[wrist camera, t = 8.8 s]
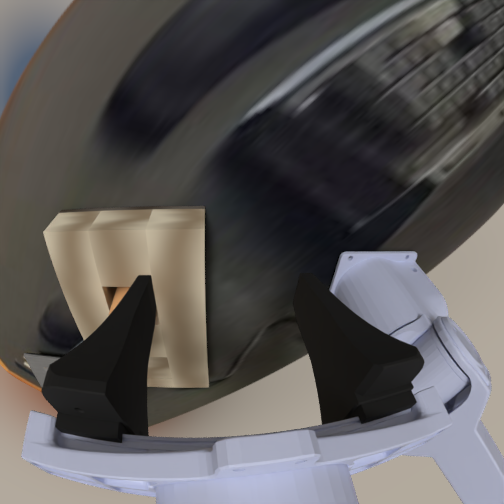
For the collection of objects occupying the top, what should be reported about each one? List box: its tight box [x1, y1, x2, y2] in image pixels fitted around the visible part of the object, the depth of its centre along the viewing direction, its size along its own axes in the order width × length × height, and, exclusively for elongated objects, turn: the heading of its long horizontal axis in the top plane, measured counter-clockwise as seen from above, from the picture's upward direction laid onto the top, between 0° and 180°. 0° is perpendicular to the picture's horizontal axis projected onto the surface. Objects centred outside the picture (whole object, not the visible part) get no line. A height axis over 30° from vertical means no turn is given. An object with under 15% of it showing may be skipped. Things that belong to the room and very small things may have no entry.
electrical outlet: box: [24, 353, 61, 387], centre depth 31 cm, size 13×10×2 cm
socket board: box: [43, 206, 209, 388], centre depth 24 cm, size 12×20×4 cm, turn 175°
